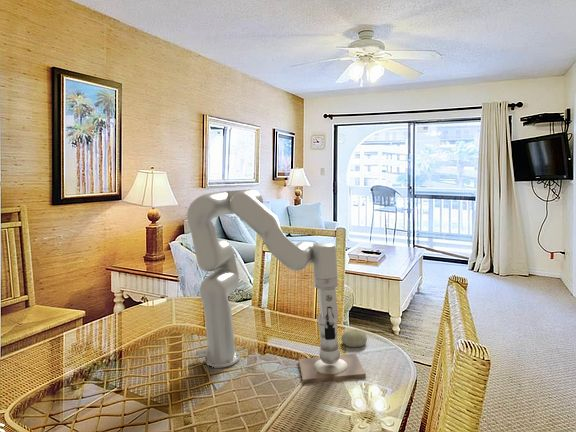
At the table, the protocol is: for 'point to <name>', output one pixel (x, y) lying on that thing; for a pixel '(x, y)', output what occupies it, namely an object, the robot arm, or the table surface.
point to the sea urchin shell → (354, 338)
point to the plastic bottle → (328, 343)
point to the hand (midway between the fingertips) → (328, 334)
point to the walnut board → (331, 369)
